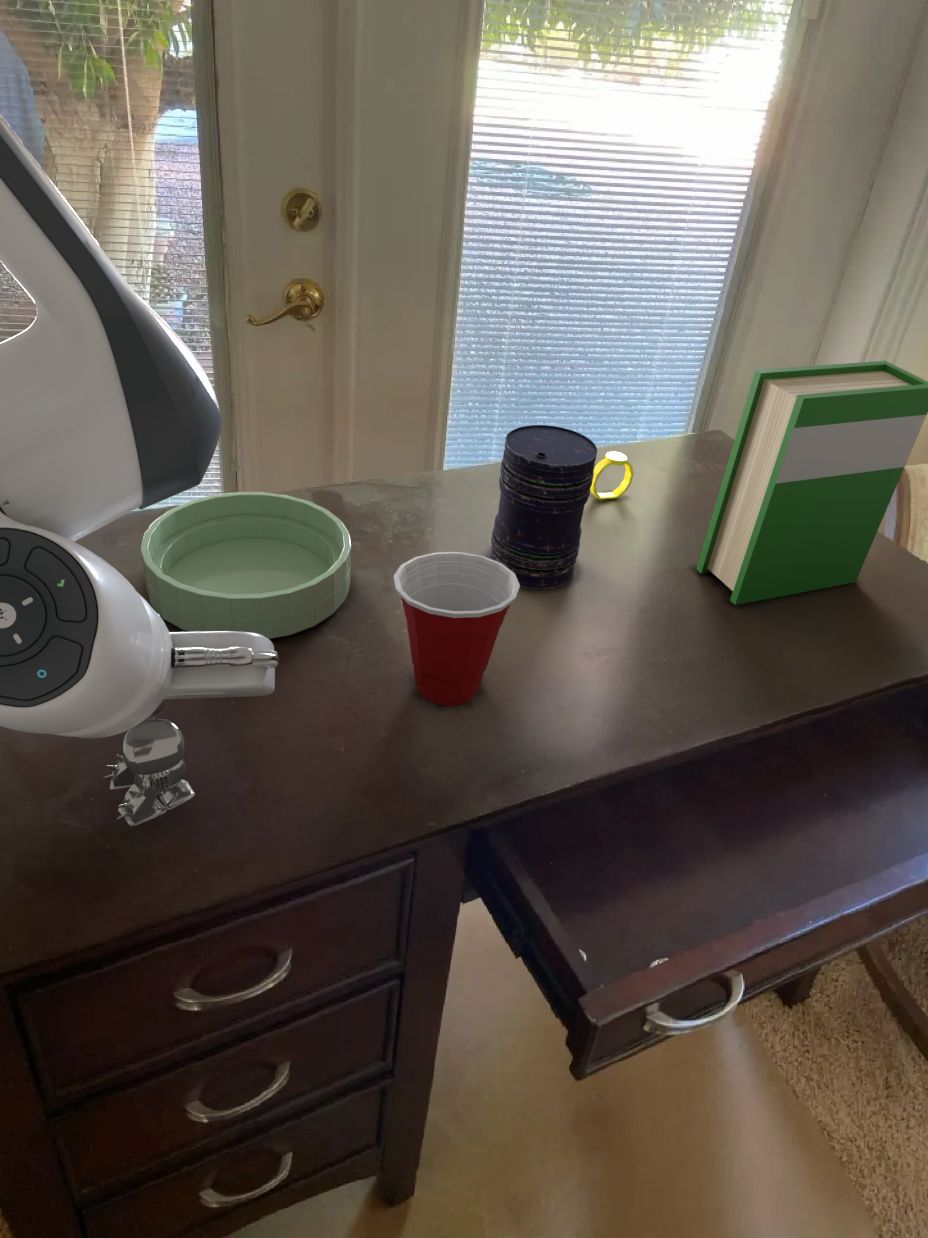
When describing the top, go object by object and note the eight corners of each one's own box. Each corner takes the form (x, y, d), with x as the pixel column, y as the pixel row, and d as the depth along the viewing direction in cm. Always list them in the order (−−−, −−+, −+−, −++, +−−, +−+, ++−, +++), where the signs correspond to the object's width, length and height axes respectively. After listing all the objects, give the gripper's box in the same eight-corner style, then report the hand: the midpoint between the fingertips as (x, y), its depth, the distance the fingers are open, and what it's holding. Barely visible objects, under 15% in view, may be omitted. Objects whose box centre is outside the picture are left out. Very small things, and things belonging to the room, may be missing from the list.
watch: (593, 505, 114) (601, 463, 110) (581, 495, 116) (589, 453, 112) (631, 499, 116) (641, 457, 113) (619, 489, 118) (628, 448, 115)
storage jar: (508, 534, 106) (525, 416, 97) (586, 558, 103) (610, 439, 94) (474, 572, 98) (489, 448, 90) (556, 600, 96) (580, 475, 87)
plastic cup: (479, 641, 88) (492, 537, 81) (522, 712, 80) (540, 604, 73) (373, 657, 85) (378, 550, 78) (407, 733, 77) (415, 622, 70)
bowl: (136, 649, 82) (128, 600, 79) (158, 535, 99) (153, 491, 95) (356, 642, 86) (357, 595, 83) (343, 534, 102) (344, 491, 99)
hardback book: (735, 604, 98) (803, 398, 84) (696, 569, 103) (755, 369, 89) (855, 582, 104) (938, 386, 90) (813, 549, 110) (885, 360, 96)
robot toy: (87, 727, 72) (48, 571, 63) (164, 706, 75) (136, 553, 66) (128, 857, 62) (88, 690, 53) (215, 827, 64) (191, 663, 56)
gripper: (277, 601, 52) (280, 633, 66) (-105, 606, 48) (-20, 639, 62) (279, 708, 52) (281, 718, 65) (-111, 722, 48) (-23, 730, 61)
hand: (132, 680), depth 63 cm, fingers closed on robot toy, 5 cm apart
